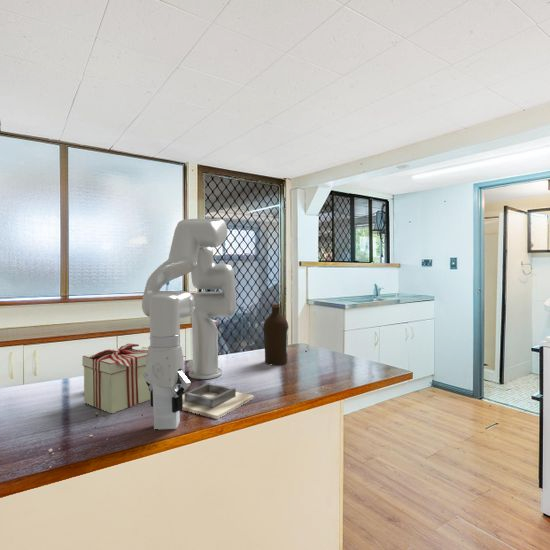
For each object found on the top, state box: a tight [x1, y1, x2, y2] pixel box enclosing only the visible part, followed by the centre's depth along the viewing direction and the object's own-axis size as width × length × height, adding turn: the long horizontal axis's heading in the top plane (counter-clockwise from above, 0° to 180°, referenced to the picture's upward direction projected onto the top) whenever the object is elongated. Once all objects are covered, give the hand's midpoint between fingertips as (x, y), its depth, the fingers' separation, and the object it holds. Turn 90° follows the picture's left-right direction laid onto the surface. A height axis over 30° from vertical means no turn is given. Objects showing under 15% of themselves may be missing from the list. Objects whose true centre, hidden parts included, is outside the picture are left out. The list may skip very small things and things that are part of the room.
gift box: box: [81, 343, 151, 414], centre depth 119 cm, size 17×18×17 cm
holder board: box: [181, 382, 255, 420], centre depth 118 cm, size 20×18×4 cm
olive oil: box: [263, 303, 289, 366], centre depth 163 cm, size 11×11×25 cm
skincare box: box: [152, 383, 181, 431], centre depth 101 cm, size 6×4×12 cm
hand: (166, 407), depth 101 cm, fingers closed on skincare box, 7 cm apart
